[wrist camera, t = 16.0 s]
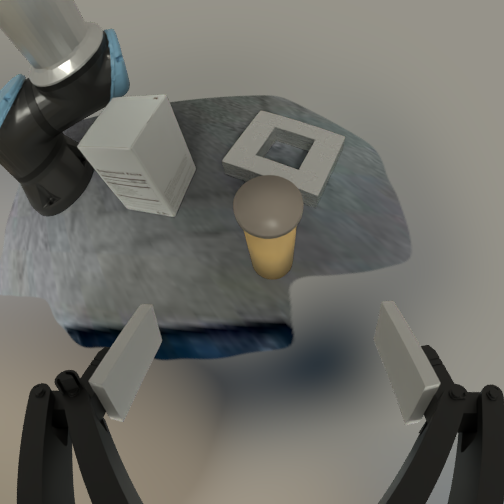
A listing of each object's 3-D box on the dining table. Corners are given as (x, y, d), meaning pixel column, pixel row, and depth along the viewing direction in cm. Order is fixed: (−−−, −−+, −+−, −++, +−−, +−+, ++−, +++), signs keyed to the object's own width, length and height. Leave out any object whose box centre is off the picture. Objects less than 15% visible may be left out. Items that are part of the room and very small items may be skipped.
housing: (225, 174, 42) (221, 161, 39) (261, 123, 45) (260, 110, 42) (315, 208, 38) (317, 196, 35) (342, 150, 42) (345, 136, 39)
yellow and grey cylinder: (240, 270, 36) (220, 217, 24) (262, 231, 37) (253, 166, 25) (283, 290, 34) (285, 245, 22) (303, 249, 36) (313, 189, 24)
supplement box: (149, 163, 44) (112, 95, 30) (197, 168, 43) (169, 91, 29) (125, 209, 41) (74, 146, 27) (175, 219, 39) (130, 147, 26)
